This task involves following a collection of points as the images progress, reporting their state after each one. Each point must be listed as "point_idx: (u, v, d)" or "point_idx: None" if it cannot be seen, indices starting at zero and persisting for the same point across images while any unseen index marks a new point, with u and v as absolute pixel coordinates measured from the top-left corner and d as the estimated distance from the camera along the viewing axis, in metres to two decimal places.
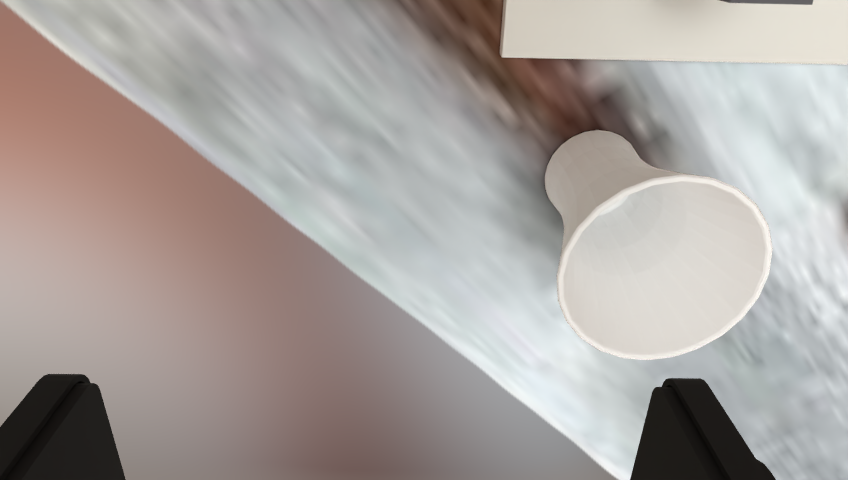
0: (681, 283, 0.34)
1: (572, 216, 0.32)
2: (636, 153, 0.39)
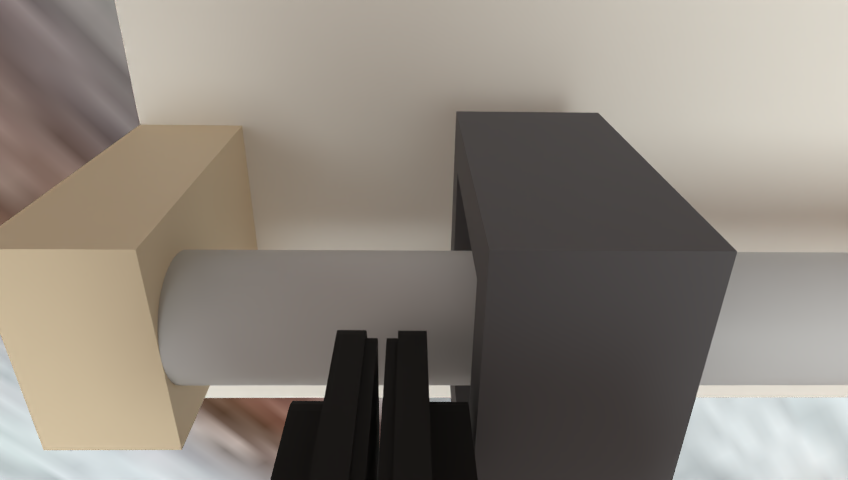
0: None
1: None
2: None
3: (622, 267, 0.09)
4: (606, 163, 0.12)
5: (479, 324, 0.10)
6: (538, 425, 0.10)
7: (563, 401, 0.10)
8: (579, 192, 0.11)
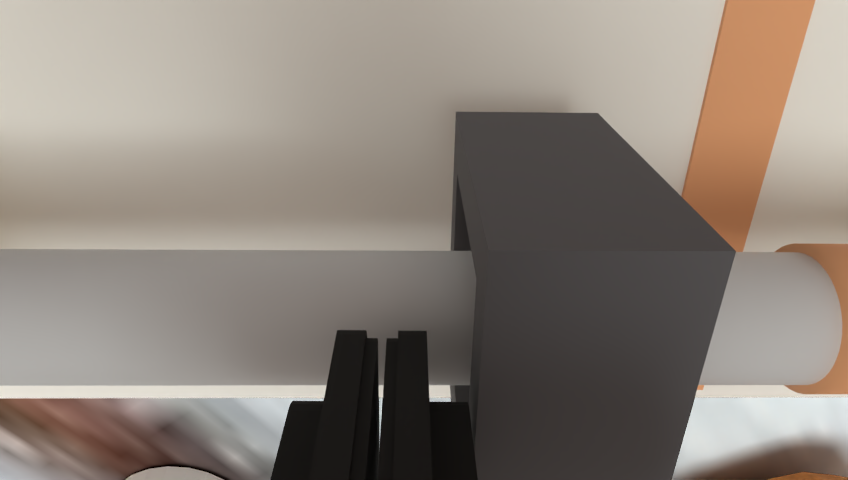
0: None
1: None
2: None
3: (621, 267, 0.09)
4: (604, 163, 0.12)
5: (478, 324, 0.10)
6: (537, 425, 0.10)
7: (562, 401, 0.10)
8: (578, 192, 0.11)
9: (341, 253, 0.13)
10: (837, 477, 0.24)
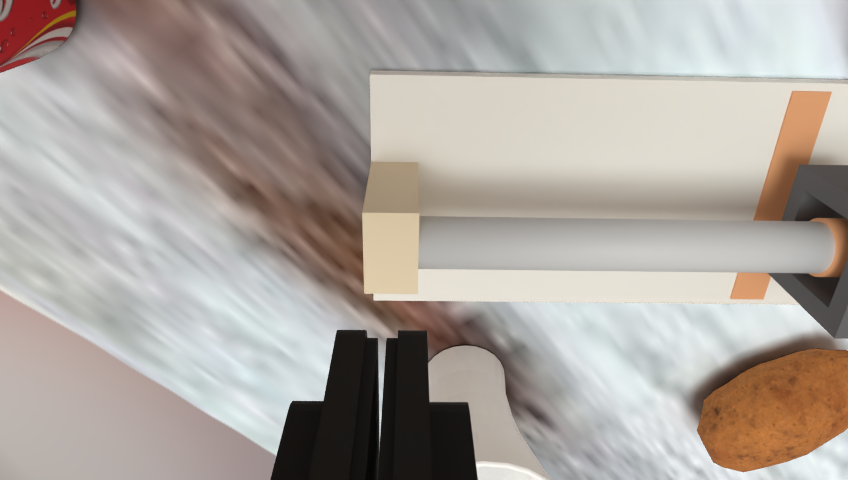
0: None
1: None
2: (494, 370, 0.46)
3: None
4: None
5: None
6: None
7: None
8: None
9: (642, 219, 0.34)
10: None
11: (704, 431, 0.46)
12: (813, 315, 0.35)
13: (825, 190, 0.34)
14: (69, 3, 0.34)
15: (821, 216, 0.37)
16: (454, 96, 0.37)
